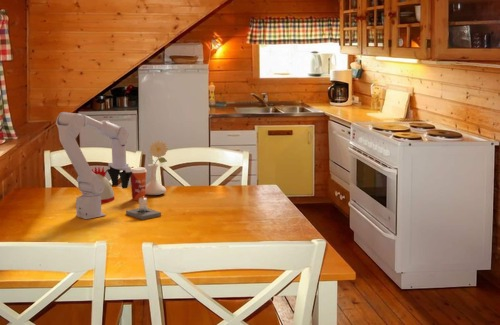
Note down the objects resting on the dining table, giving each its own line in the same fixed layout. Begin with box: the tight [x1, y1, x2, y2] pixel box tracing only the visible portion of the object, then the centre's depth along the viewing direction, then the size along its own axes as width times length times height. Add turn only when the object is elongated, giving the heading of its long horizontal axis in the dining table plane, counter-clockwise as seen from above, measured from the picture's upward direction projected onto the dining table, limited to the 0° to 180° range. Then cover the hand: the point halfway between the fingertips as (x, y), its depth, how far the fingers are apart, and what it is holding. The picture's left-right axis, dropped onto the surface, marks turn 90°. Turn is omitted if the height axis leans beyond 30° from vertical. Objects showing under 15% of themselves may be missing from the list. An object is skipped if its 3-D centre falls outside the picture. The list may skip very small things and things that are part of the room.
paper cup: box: [130, 166, 148, 202], centre depth 309 cm, size 8×8×14 cm
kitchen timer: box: [91, 166, 115, 204], centre depth 308 cm, size 14×14×15 cm
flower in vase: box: [145, 140, 168, 196], centre depth 318 cm, size 13×11×25 cm
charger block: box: [125, 207, 162, 221], centre depth 283 cm, size 9×12×2 cm
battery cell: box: [138, 197, 148, 213], centre depth 282 cm, size 3×3×8 cm
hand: (120, 186), depth 292 cm, fingers open, 7 cm apart
